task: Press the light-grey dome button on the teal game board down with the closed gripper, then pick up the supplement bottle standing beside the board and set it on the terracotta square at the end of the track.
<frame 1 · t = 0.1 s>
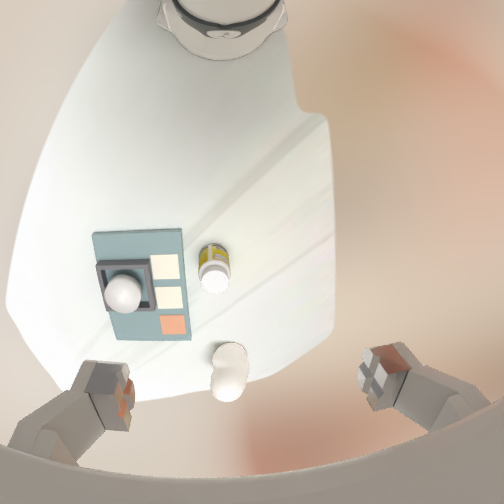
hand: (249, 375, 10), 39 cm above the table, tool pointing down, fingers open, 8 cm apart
board: (144, 289, 52), on the table
dome: (124, 292, 47), point 4 cm above the table, slide at 0.0 cm
supplement bottle: (213, 255, 51), on the table
figurine: (228, 352, 61), on the table
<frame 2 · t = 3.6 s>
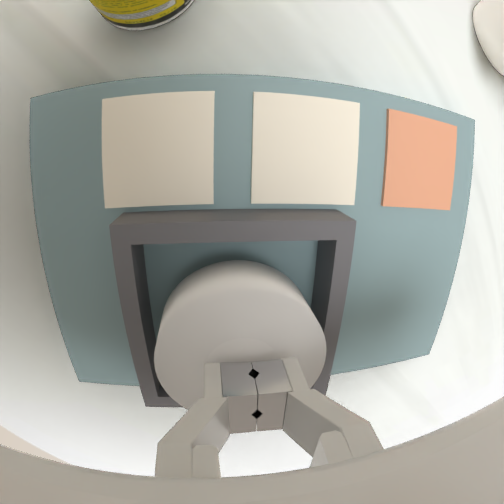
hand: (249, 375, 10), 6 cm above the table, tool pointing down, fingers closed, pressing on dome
board: (273, 245, 14), on the table
dome: (237, 337, 12), point 4 cm above the table, slide at -0.4 cm, touching gripper
figurine: (497, 45, 12), on the table
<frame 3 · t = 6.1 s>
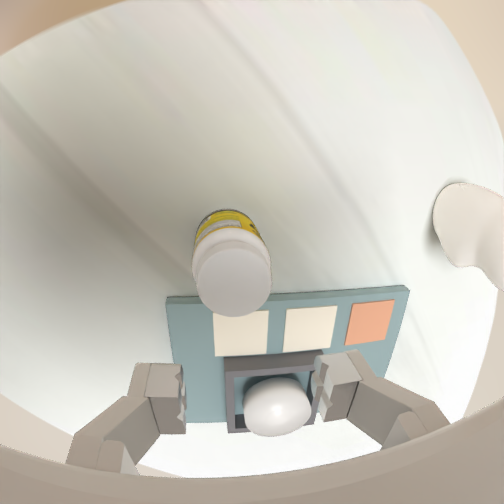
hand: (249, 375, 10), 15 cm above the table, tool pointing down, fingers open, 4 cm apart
board: (290, 360, 29), on the table
dome: (275, 404, 26), point 3 cm above the table, slide at -0.6 cm, touching board
supplement bottle: (226, 237, 24), on the table
figurine: (451, 216, 26), on the table
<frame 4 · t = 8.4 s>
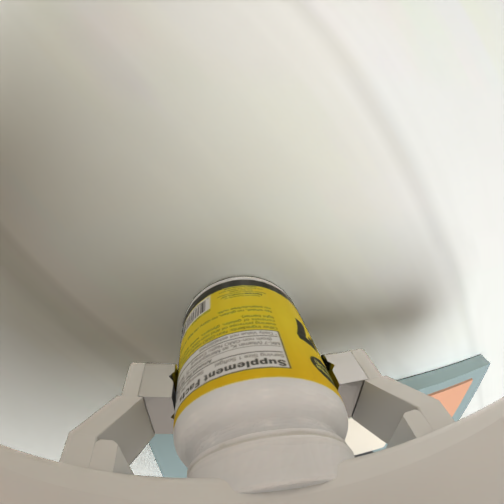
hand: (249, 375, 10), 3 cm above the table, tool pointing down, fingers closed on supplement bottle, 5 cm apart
board: (326, 459, 18), on the table
supplement bottle: (240, 322, 13), on the table, touching gripper
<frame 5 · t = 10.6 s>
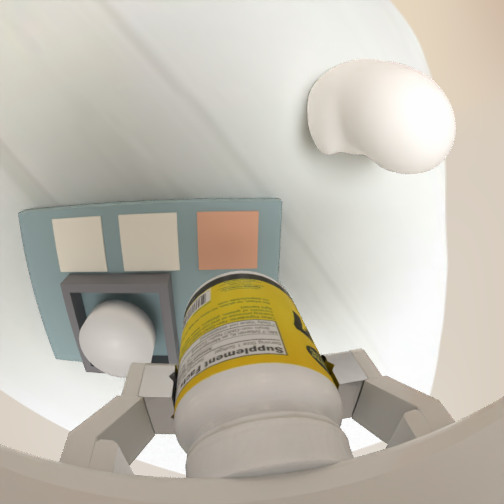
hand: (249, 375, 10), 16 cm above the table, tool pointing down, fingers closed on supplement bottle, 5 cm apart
board: (145, 288, 25), on the table
dome: (119, 335, 22), point 3 cm above the table, slide at -0.6 cm, touching board
supplement bottle: (239, 315, 13), point 12 cm above the table, touching gripper
figurine: (340, 115, 22), on the table
when the fingers open (6 cm above the table, at t = 12.8 s): supplement bottle stays where it is, resting on board.
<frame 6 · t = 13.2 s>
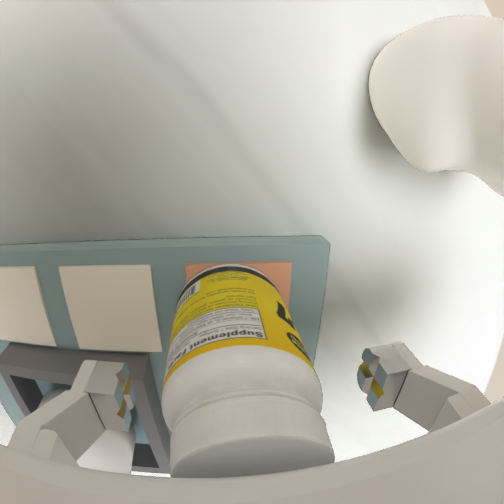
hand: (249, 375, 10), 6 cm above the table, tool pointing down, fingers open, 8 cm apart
board: (116, 366, 16), on the table
dome: (84, 432, 13), point 3 cm above the table, slide at -0.6 cm, touching board
supplement bottle: (229, 307, 14), point 1 cm above the table, touching board
figurine: (414, 105, 13), on the table
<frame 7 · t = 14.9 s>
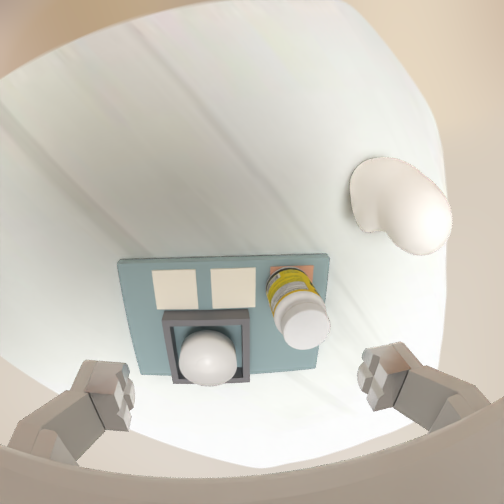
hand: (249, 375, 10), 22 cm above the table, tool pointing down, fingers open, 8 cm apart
board: (225, 319, 34), on the table
dome: (208, 355, 32), point 3 cm above the table, slide at -0.6 cm, touching board
supplement bottle: (287, 285, 32), point 1 cm above the table, touching board
figurine: (372, 190, 31), on the table
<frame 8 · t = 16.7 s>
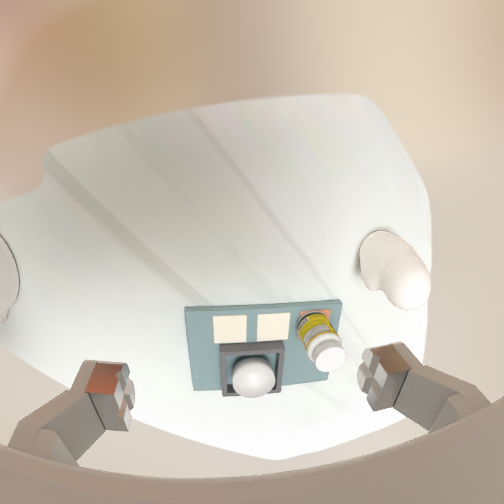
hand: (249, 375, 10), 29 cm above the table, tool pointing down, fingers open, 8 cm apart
board: (263, 347, 45), on the table
dome: (252, 375, 42), point 3 cm above the table, slide at -0.6 cm, touching board
supplement bottle: (311, 323, 43), point 1 cm above the table, touching board
figurine: (375, 253, 42), on the table
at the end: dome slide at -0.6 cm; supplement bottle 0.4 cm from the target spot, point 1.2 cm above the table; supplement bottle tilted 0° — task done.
